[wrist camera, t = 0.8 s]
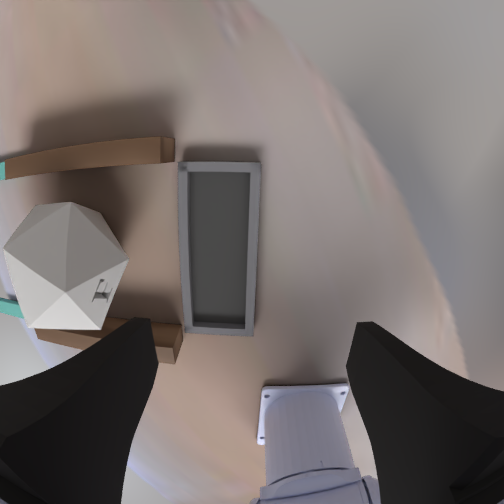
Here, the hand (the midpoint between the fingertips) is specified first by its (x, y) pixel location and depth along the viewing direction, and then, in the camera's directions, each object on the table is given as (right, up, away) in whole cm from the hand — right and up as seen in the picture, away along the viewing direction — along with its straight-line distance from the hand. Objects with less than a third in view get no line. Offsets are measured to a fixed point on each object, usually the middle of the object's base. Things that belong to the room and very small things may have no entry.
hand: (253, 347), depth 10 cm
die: (-12, +4, +10) cm, 16 cm away
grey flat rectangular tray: (-2, +3, +10) cm, 11 cm away
